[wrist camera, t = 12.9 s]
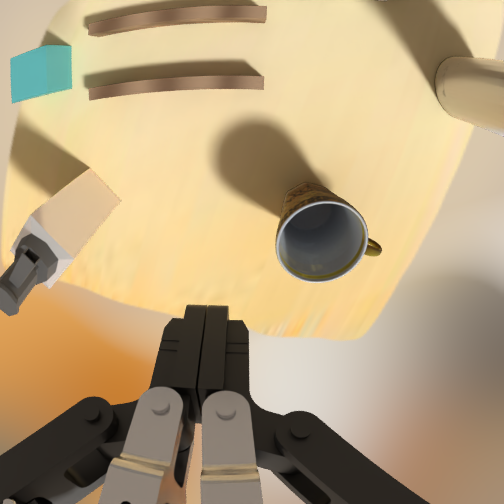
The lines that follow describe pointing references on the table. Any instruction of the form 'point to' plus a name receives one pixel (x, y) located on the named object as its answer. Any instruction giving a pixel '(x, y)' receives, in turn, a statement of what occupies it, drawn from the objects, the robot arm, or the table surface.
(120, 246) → the table surface
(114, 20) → the chute
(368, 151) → the table surface
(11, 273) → the soap dispenser
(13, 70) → the block
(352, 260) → the ceramic cup
